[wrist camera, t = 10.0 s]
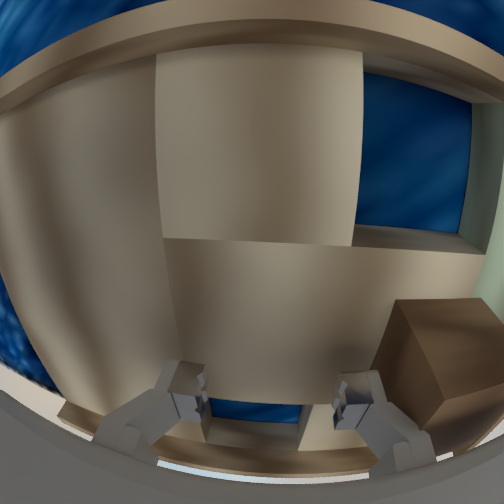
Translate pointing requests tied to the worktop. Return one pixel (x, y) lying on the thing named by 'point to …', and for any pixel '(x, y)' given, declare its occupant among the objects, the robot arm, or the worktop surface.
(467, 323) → the walnut block
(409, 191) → the worktop surface
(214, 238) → the trap deck
